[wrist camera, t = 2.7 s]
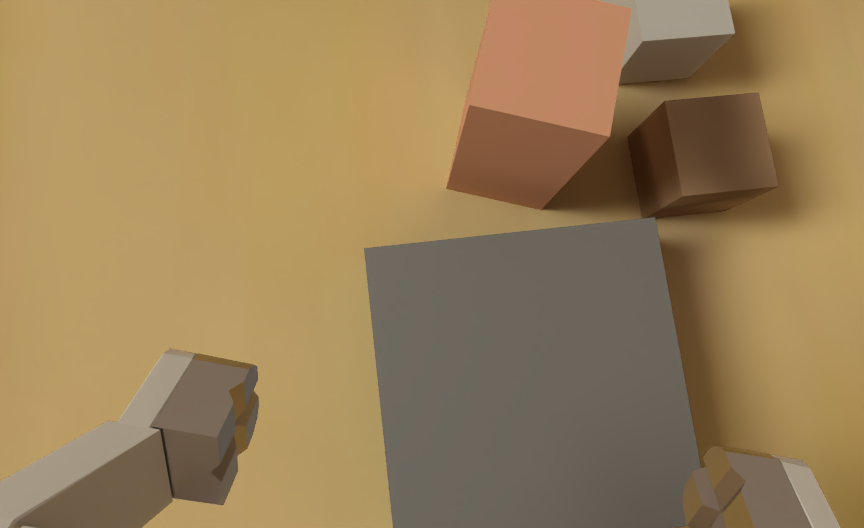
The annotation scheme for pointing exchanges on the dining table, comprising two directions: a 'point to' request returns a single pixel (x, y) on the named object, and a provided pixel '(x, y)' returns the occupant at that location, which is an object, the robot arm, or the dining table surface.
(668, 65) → the grey plastic block
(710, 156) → the walnut block
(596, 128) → the terracotta block
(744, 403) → the dining table surface
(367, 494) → the dining table surface
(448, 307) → the block
